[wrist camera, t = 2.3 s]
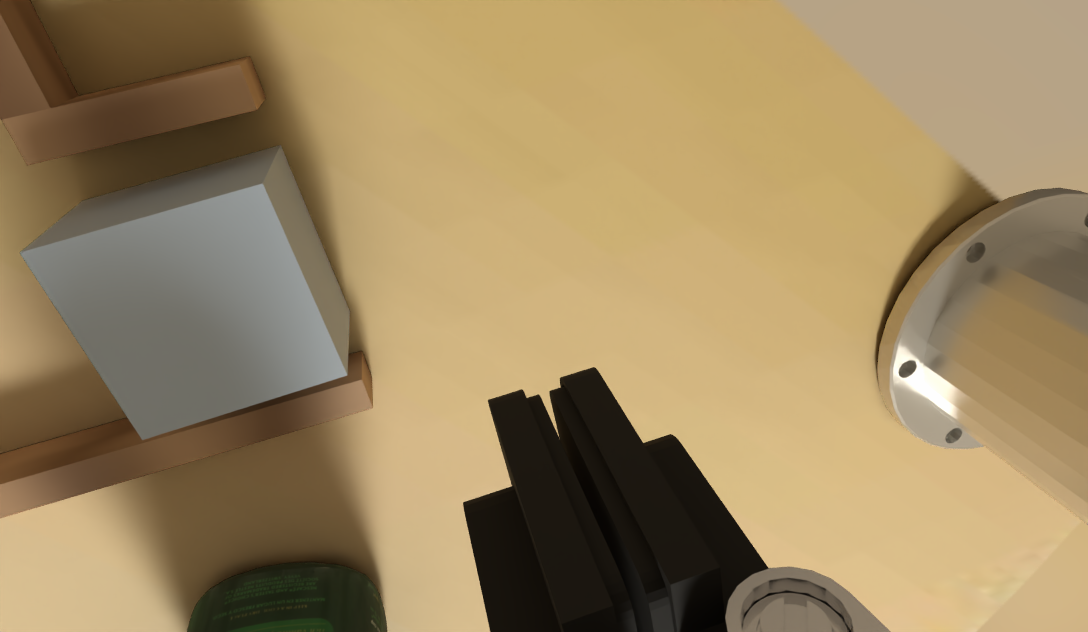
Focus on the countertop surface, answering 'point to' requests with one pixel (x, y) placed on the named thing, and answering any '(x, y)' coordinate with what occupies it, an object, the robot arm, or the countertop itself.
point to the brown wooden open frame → (98, 121)
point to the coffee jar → (292, 601)
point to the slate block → (198, 291)
